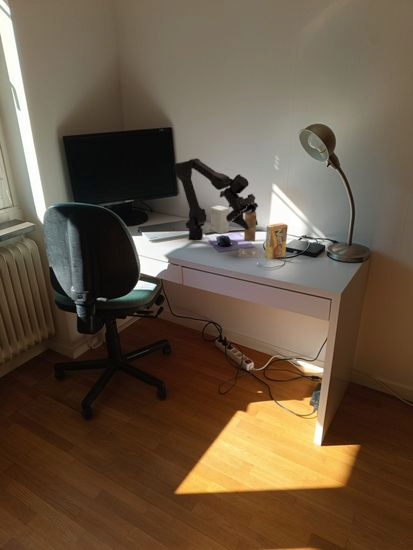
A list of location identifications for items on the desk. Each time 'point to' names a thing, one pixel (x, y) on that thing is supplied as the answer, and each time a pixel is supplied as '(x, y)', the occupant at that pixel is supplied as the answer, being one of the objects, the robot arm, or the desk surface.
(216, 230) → the small box
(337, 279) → the desk surface
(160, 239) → the desk surface
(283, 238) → the candy box
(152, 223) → the desk surface
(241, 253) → the grey flat square plate
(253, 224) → the walnut block
